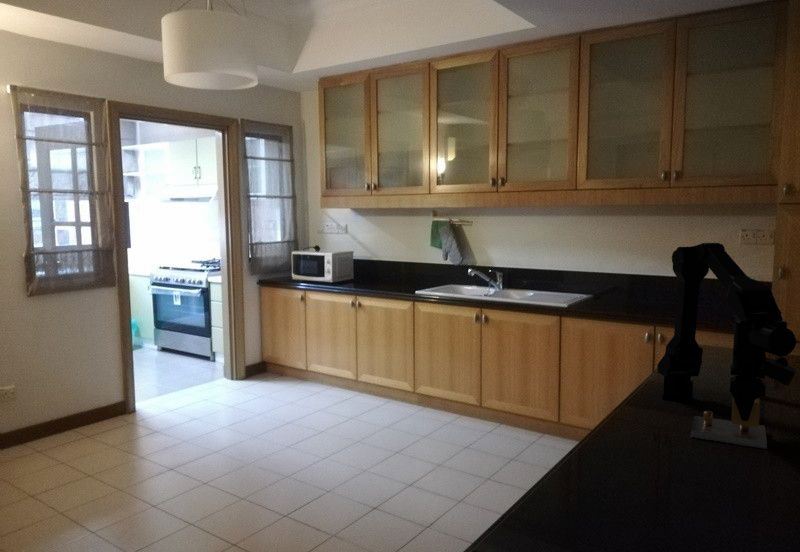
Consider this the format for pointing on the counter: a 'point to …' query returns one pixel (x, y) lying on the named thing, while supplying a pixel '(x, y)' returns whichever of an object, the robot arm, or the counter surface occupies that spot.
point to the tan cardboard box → (753, 416)
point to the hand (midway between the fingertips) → (744, 417)
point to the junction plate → (728, 431)
